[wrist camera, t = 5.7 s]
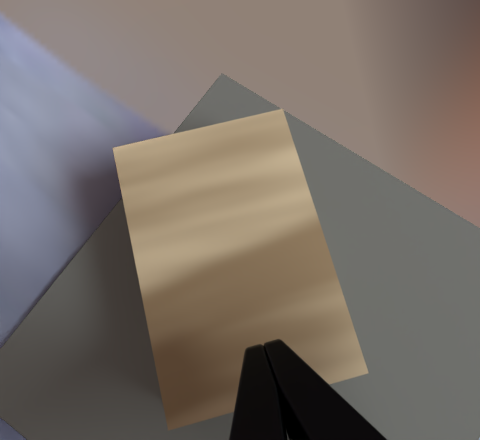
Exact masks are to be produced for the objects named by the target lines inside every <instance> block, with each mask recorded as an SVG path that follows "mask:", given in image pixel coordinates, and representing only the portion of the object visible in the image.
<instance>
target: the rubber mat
mask: <svg viewBox="0 0 480 440" xmlns="http://www.w3.org/2000/svg"><path fill="white" fill-rule="evenodd" d="M279 109H280V108H279V107H277V106H276V105H274V104H272V103H271V102H269V101H267V100H266V99H264V98H262V97H260V96H259V95H257V94H256V93H254V92H252V91H250V90H249V89H247V88H246V87H244V86H242V85H241V84H239V83H237V82H236V81H234V80H232V79H231V78H229V77H227V76H226V75H224V74H221V75H220V76H219V78H218V79H217V80H216V81H215V83H214V84H213V85H212V86H211V88H210V89H209V90H208V91H207V93H206V94H205V95H204V96H203V98H202V99H201V100H200V101H199V103H198V104H197V105H196V106H195V108H194V109H193V110H192V111H191V112H190V114H189V115H188V116H187V118H186V119H185V120H184V121H183V122H182V124H181V125H180V126H179V127H178V129H177V130H176V131H175V132H174V134H175V133H180V132H184V131H188V130H193V129H197V128H201V127H206V126H210V125H214V124H219V123H223V122H227V121H232V120H236V119H240V118H245V117H249V116H253V115H258V114H262V113H266V112H271V111H275V110H279ZM283 111H284V110H283ZM284 114H285V117H286V120H287V123H288V126H289V129H290V133H291V136H292V139H293V142H294V145H295V148H296V151H297V154H298V157H299V160H300V163H301V166H302V169H303V173H304V176H305V179H306V182H307V185H308V188H309V191H310V194H311V197H312V200H313V203H314V206H315V209H316V212H317V216H318V219H319V222H320V225H321V228H322V231H323V234H324V237H325V240H326V243H327V246H328V249H329V252H330V256H331V259H332V262H333V265H334V268H335V271H336V274H337V277H338V280H339V283H340V286H341V289H342V292H343V296H344V299H345V302H346V305H347V308H348V311H349V314H350V317H351V320H352V323H353V326H354V329H355V332H356V335H357V339H358V342H359V345H360V348H361V351H362V354H363V357H364V360H365V363H366V366H367V369H368V372H369V373H368V374H364V375H361V376H357V377H354V378H350V379H347V380H343V381H340V382H336V383H333V384H329V385H330V386H331V387H332V388H333V389H334V390H335V391H336V392H338V393H339V394H340V395H341V396H342V397H343V398H344V399H345V400H346V401H347V402H348V403H349V404H350V405H351V406H352V407H353V408H354V409H356V410H357V411H358V412H359V413H360V414H361V415H362V416H363V417H364V418H365V419H366V420H367V421H368V422H369V423H370V424H371V425H373V426H374V427H375V428H376V429H377V430H378V431H379V432H380V433H381V434H382V435H383V436H384V437H385V438H386V439H387V440H479V437H480V228H478V227H477V226H475V225H473V224H472V223H470V222H468V221H467V220H465V219H463V218H462V217H460V216H458V215H456V214H455V213H453V212H452V211H450V210H449V209H447V208H445V207H444V206H442V205H440V204H439V203H437V202H435V201H433V200H432V199H430V198H429V197H427V196H425V195H423V194H422V193H420V192H419V191H417V190H415V189H414V188H412V187H410V186H409V185H407V184H405V183H404V182H402V181H400V180H399V179H397V178H395V177H393V176H392V175H390V174H389V173H387V172H385V171H384V170H382V169H380V168H379V167H377V166H375V165H374V164H372V163H370V162H369V161H367V160H365V159H364V158H362V157H360V156H359V155H357V154H355V153H354V152H352V151H350V150H349V149H347V148H345V147H344V146H342V145H340V144H338V143H337V142H335V141H334V140H332V139H330V138H328V137H327V136H326V135H324V134H322V133H320V132H319V131H317V130H316V129H314V128H312V127H311V126H309V125H307V124H306V123H304V122H302V121H300V120H299V119H297V118H296V117H294V116H292V115H291V114H289V113H287V112H286V111H284ZM233 414H234V412H232V413H228V414H225V415H221V416H218V417H214V418H211V419H207V420H204V421H200V422H197V423H193V424H190V425H186V426H183V427H179V428H176V429H172V430H169V431H168V427H167V422H166V417H165V412H164V407H163V402H162V396H161V391H160V386H159V381H158V376H157V371H156V366H155V361H154V356H153V351H152V346H151V340H150V335H149V330H148V325H147V320H146V315H145V310H144V305H143V300H142V295H141V290H140V285H139V279H138V274H137V269H136V264H135V259H134V254H133V249H132V244H131V239H130V234H129V229H128V224H127V218H126V213H125V208H124V203H123V198H121V200H120V201H119V202H118V203H117V204H116V206H115V207H114V208H113V209H112V211H111V212H110V213H109V214H108V216H107V217H106V218H105V219H104V221H103V222H102V223H101V224H100V226H99V227H98V228H97V229H96V231H95V232H94V233H93V234H92V236H91V237H90V238H89V239H88V241H87V242H86V243H85V244H84V246H83V247H82V248H81V249H80V251H79V252H78V253H77V254H76V256H75V257H74V258H73V259H72V260H71V262H70V263H69V264H68V265H67V267H66V268H65V269H64V270H63V272H62V273H61V274H60V275H59V277H58V278H57V279H56V280H55V282H54V283H53V284H52V285H51V287H50V288H49V289H48V290H47V292H46V293H45V294H44V295H43V297H42V298H41V299H40V300H39V302H38V303H37V304H36V305H35V307H34V308H33V309H32V310H31V311H30V313H29V314H28V315H27V316H26V318H25V319H24V320H23V321H22V323H21V324H20V325H19V326H18V328H17V329H16V330H15V331H14V333H13V334H12V335H11V336H10V338H9V339H8V340H7V341H6V343H5V344H4V345H3V346H2V348H1V349H0V418H2V419H3V420H4V421H5V422H6V423H8V424H9V425H10V426H11V427H13V428H14V429H15V430H16V431H17V432H19V433H20V434H21V435H22V436H23V437H25V438H26V439H27V440H229V437H230V431H231V425H232V420H233ZM287 437H288V436H287ZM288 440H289V439H288Z"/></svg>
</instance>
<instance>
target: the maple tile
mask: <svg viewBox="0 0 480 440" xmlns="http://www.w3.org/2000/svg"><path fill="white" fill-rule="evenodd" d="M113 152H114V157H115V163H116V168H117V173H118V178H119V183H120V188H121V193H122V198H123V203H124V208H125V213H126V218H127V224H128V229H129V234H130V239H131V244H132V249H133V254H134V259H135V264H136V269H137V274H138V279H139V285H140V290H141V295H142V300H143V305H144V310H145V315H146V320H147V325H148V330H149V335H150V340H151V346H152V351H153V356H154V361H155V366H156V371H157V376H158V381H159V386H160V391H161V396H162V402H163V407H164V412H165V417H166V422H167V427H168V431H169V430H172V429H176V428H179V427H183V426H186V425H190V424H193V423H197V422H200V421H204V420H207V419H211V418H214V417H218V416H221V415H225V414H228V413H232V412H234V408H235V403H236V397H237V391H238V386H239V380H240V374H241V369H242V363H243V357H244V352H245V349H246V348H247V347H250V346H254V345H257V344H262V345H264V343H265V342H268V341H272V340H275V339H281V340H282V341H284V342H285V343H286V344H287V345H288V346H289V347H290V348H291V349H292V350H293V351H294V352H295V353H296V354H297V355H298V356H299V357H300V358H302V359H303V360H304V361H305V362H306V363H307V364H308V365H309V366H310V367H311V368H312V369H313V370H314V371H315V372H316V373H317V374H318V375H320V376H321V377H322V378H323V379H324V380H325V381H326V382H327V383H328V384H333V383H336V382H340V381H343V380H347V379H350V378H354V377H357V376H361V375H364V374H368V373H369V372H368V369H367V366H366V363H365V360H364V357H363V354H362V351H361V348H360V345H359V342H358V339H357V335H356V332H355V329H354V326H353V323H352V320H351V317H350V314H349V311H348V308H347V305H346V302H345V299H344V296H343V292H342V289H341V286H340V283H339V280H338V277H337V274H336V271H335V268H334V265H333V262H332V259H331V256H330V252H329V249H328V246H327V243H326V240H325V237H324V234H323V231H322V228H321V225H320V222H319V219H318V216H317V212H316V209H315V206H314V203H313V200H312V197H311V194H310V191H309V188H308V185H307V182H306V179H305V176H304V173H303V169H302V166H301V163H300V160H299V157H298V154H297V151H296V148H295V145H294V142H293V139H292V136H291V133H290V129H289V126H288V123H287V120H286V117H285V114H284V111H283V109H279V110H275V111H271V112H266V113H262V114H258V115H253V116H249V117H245V118H240V119H236V120H232V121H227V122H223V123H219V124H214V125H210V126H206V127H201V128H197V129H193V130H188V131H184V132H180V133H175V134H171V135H167V136H162V137H158V138H154V139H149V140H145V141H141V142H136V143H132V144H128V145H123V146H119V147H115V148H113Z"/></svg>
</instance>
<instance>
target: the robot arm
mask: <svg viewBox="0 0 480 440" xmlns="http://www.w3.org/2000/svg"><path fill="white" fill-rule="evenodd" d="M287 436H288V437H287ZM288 439H289V440H387V439H386V438H385V437H384V436H383V435H382V434H381V433H380V432H379V431H378V430H377V429H376V428H375V427H374V426H373V425H371V424H370V423H369V422H368V421H367V420H366V419H365V418H364V417H363V416H362V415H361V414H360V413H359V412H358V411H357V410H356V409H354V408H353V407H352V406H351V405H350V404H349V403H348V402H347V401H346V400H345V399H344V398H343V397H342V396H341V395H340V394H339V393H338V392H336V391H335V390H334V389H333V388H332V387H331V386H330V385H329V384H328V383H327V382H326V381H325V380H324V379H323V378H322V377H321V376H320V375H318V374H317V373H316V372H315V371H314V370H313V369H312V368H311V367H310V366H309V365H308V364H307V363H306V362H305V361H304V360H303V359H302V358H300V357H299V356H298V355H297V354H296V353H295V352H294V351H293V350H292V349H291V348H290V347H289V346H288V345H287V344H286V343H285V342H284V341H282V340H281V339H275V340H272V341H268V342H265V343H264V345H262V344H257V345H254V346H250V347H247V348H246V349H245V352H244V357H243V363H242V369H241V374H240V380H239V386H238V391H237V397H236V403H235V408H234V414H233V420H232V425H231V431H230V437H229V440H288Z"/></svg>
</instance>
